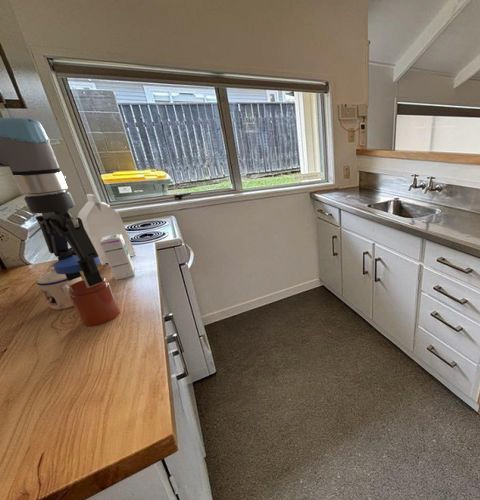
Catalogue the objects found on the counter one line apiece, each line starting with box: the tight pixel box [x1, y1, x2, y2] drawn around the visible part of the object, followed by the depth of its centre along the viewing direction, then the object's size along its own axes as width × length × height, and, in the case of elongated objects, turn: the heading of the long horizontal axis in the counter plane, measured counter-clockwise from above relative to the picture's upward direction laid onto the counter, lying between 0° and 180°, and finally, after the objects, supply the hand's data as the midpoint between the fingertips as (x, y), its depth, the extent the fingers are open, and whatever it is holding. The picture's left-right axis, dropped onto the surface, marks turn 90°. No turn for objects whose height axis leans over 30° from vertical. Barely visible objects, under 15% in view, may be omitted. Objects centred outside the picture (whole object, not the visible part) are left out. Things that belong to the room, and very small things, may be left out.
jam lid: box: [52, 255, 100, 274], centre depth 71 cm, size 8×8×2 cm
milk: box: [77, 193, 137, 265], centre depth 113 cm, size 12×12×26 cm
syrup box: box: [99, 234, 136, 281], centre depth 98 cm, size 6×6×14 cm
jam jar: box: [68, 276, 121, 327], centre depth 75 cm, size 8×8×10 cm
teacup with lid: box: [36, 266, 83, 311], centre depth 82 cm, size 12×9×12 cm
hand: (85, 280), depth 73 cm, fingers closed on jam lid, 8 cm apart
